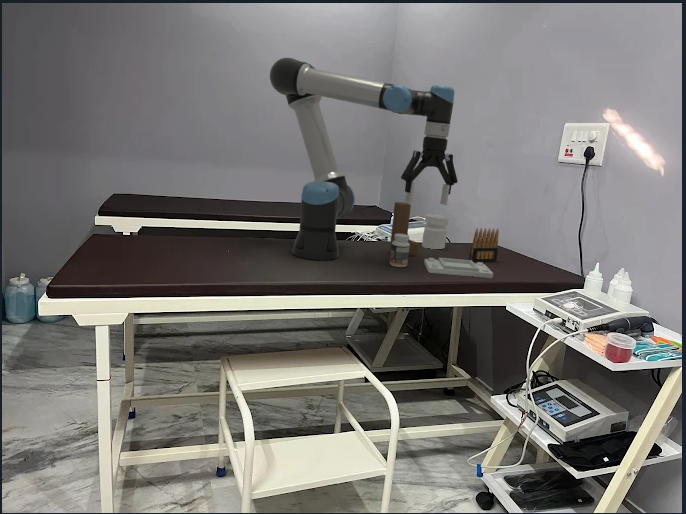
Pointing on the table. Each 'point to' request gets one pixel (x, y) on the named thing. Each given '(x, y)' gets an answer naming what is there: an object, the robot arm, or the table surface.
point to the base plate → (457, 267)
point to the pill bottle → (400, 250)
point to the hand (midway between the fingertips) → (426, 203)
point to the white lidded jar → (435, 231)
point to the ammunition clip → (484, 246)
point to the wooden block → (402, 225)
